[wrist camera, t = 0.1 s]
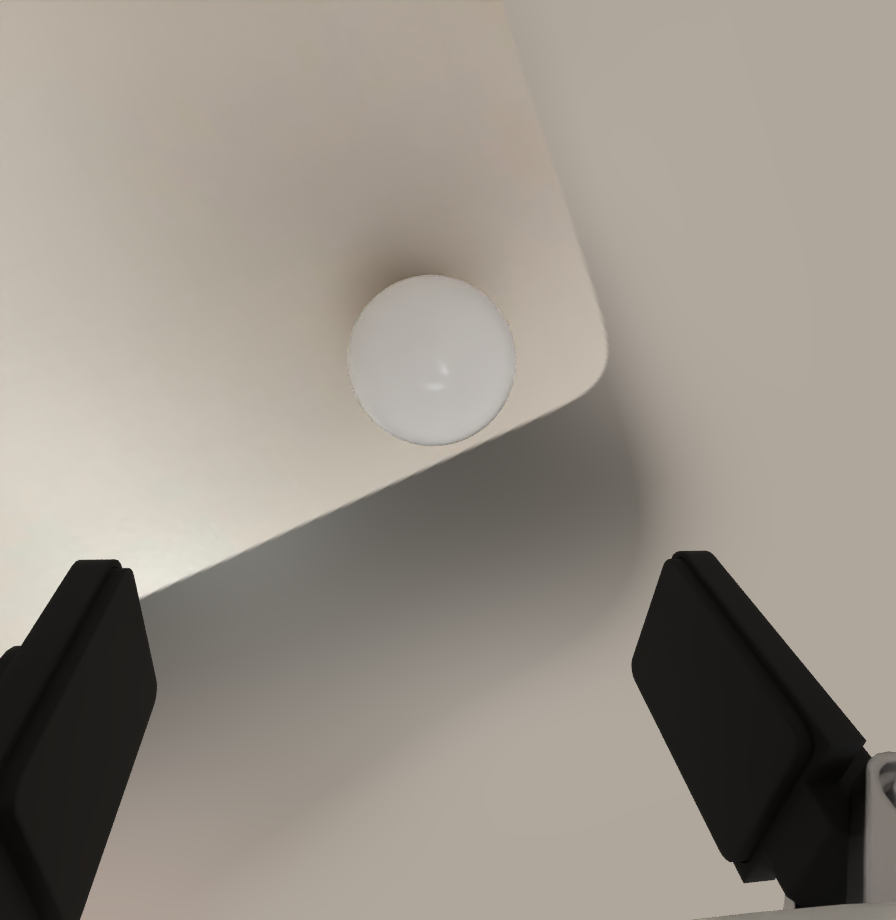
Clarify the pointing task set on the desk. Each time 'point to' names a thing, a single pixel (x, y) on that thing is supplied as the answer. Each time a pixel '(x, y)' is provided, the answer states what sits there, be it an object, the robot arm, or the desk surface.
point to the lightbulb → (431, 360)
